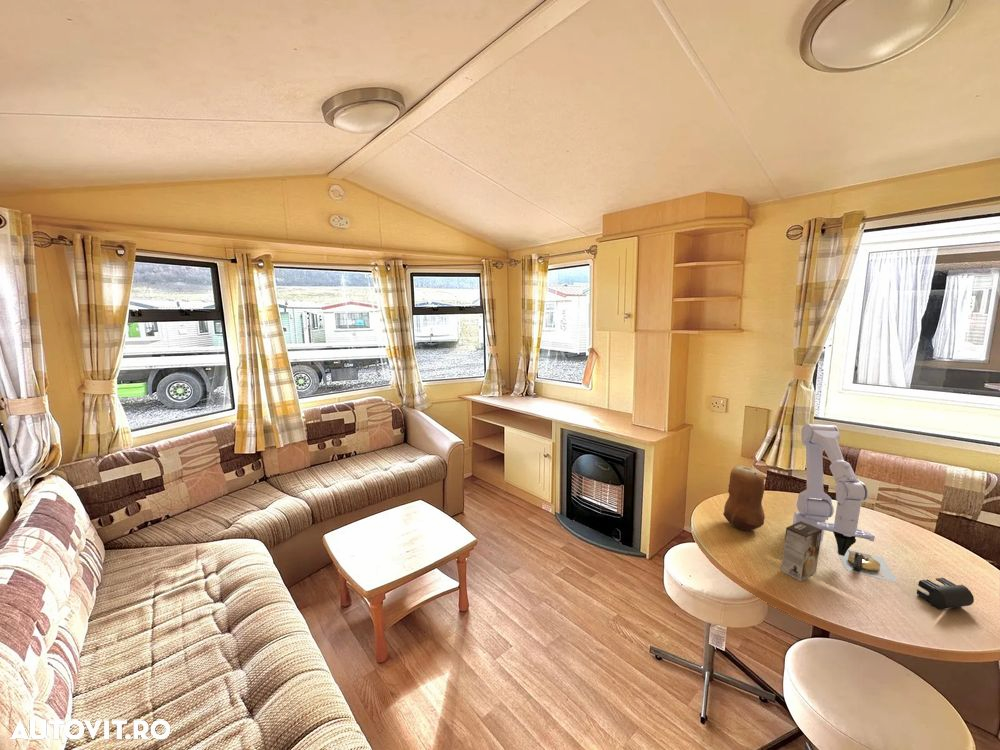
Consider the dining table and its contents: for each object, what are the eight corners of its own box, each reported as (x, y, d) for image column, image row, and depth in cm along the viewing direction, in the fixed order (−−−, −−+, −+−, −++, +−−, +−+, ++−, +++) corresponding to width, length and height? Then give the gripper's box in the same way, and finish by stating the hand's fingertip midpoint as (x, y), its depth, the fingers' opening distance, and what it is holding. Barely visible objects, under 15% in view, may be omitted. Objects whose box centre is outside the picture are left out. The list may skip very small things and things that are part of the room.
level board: (844, 572, 132) (845, 569, 132) (834, 548, 145) (835, 545, 145) (897, 586, 126) (898, 582, 126) (882, 559, 139) (883, 556, 138)
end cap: (942, 616, 114) (947, 595, 113) (914, 598, 121) (918, 578, 119) (971, 612, 115) (976, 591, 114) (941, 595, 122) (946, 575, 121)
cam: (853, 553, 140) (856, 539, 139) (883, 566, 133) (886, 551, 132) (840, 563, 135) (842, 548, 134) (871, 577, 128) (873, 561, 127)
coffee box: (795, 562, 137) (800, 520, 134) (816, 573, 132) (823, 529, 129) (779, 571, 133) (785, 527, 130) (801, 582, 127) (808, 536, 125)
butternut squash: (751, 519, 165) (757, 462, 161) (769, 537, 152) (777, 476, 148) (716, 517, 166) (722, 461, 162) (732, 536, 153) (738, 475, 149)
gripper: (821, 516, 131) (816, 553, 134) (880, 528, 124) (873, 567, 126) (817, 507, 137) (812, 543, 140) (873, 517, 130) (866, 555, 133)
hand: (841, 553), depth 133 cm, fingers closed
